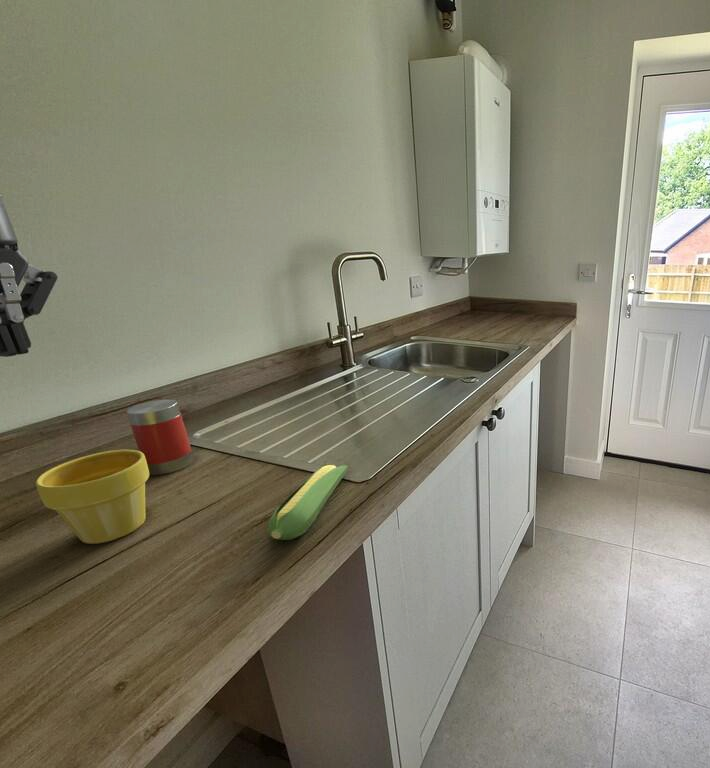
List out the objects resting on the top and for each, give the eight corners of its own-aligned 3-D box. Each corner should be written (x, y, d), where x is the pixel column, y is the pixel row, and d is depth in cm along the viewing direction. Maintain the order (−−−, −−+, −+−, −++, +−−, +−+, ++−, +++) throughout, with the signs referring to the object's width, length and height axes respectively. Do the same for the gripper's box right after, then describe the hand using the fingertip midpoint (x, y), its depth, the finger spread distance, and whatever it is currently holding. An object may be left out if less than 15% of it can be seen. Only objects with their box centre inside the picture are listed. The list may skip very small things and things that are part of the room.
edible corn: (259, 551, 53) (252, 521, 51) (329, 470, 72) (325, 447, 70) (299, 551, 52) (293, 522, 51) (358, 470, 71) (355, 447, 70)
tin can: (150, 479, 69) (129, 417, 65) (142, 466, 73) (122, 406, 70) (198, 464, 74) (181, 405, 70) (189, 452, 78) (172, 396, 74)
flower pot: (159, 497, 64) (140, 441, 61) (167, 527, 57) (147, 466, 54) (64, 528, 57) (38, 466, 54) (60, 566, 50) (30, 498, 47)
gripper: (6, 205, 51) (57, 341, 56) (-184, 192, 39) (-96, 368, 44) (53, 204, 50) (99, 343, 55) (-130, 190, 37) (-46, 372, 43)
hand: (12, 354), depth 50 cm, fingers closed
